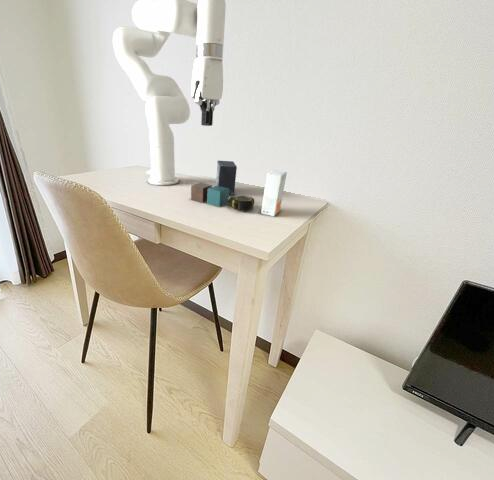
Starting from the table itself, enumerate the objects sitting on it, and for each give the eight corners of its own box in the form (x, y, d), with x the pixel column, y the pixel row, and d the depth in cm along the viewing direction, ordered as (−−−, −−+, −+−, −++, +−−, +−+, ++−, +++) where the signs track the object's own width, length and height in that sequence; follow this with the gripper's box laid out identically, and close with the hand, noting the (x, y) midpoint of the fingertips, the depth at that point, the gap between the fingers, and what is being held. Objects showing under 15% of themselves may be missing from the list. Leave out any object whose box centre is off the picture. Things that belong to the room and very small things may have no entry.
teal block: (206, 203, 85) (207, 188, 82) (215, 199, 88) (216, 185, 86) (219, 206, 82) (220, 191, 80) (228, 203, 85) (229, 188, 83)
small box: (235, 195, 93) (237, 166, 88) (216, 195, 93) (218, 165, 88) (231, 187, 102) (234, 160, 97) (215, 187, 102) (216, 160, 97)
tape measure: (245, 204, 84) (247, 193, 82) (257, 212, 78) (259, 200, 77) (227, 207, 82) (228, 195, 80) (237, 214, 76) (238, 202, 75)
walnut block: (191, 199, 88) (191, 185, 86) (200, 196, 92) (200, 182, 89) (202, 202, 85) (203, 188, 83) (211, 199, 89) (212, 185, 86)
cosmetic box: (274, 216, 75) (281, 175, 70) (260, 213, 77) (266, 173, 72) (280, 210, 80) (287, 171, 74) (266, 208, 82) (272, 169, 76)
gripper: (214, 59, 80) (211, 124, 88) (181, 51, 70) (182, 125, 78) (235, 57, 76) (229, 125, 84) (203, 48, 66) (201, 127, 74)
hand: (206, 125), depth 81 cm, fingers closed
